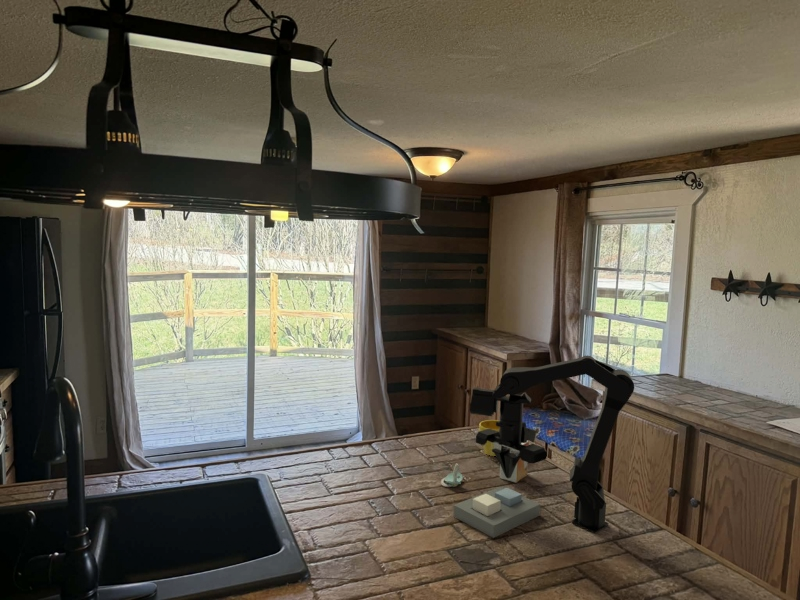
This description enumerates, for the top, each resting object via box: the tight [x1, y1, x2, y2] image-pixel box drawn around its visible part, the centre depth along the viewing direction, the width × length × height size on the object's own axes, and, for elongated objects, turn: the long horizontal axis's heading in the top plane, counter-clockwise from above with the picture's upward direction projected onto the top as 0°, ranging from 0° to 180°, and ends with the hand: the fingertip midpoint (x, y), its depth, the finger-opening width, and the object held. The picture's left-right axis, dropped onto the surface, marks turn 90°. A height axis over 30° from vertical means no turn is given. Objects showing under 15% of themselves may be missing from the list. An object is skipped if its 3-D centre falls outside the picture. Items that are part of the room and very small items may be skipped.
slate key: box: [495, 487, 523, 507], centre depth 142 cm, size 5×5×3 cm
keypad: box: [453, 486, 541, 539], centre depth 139 cm, size 13×18×3 cm
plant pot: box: [478, 419, 500, 457], centre depth 182 cm, size 10×10×10 cm
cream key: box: [473, 494, 501, 516], centre depth 136 cm, size 5×5×3 cm
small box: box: [498, 440, 530, 483], centre depth 164 cm, size 8×6×10 cm
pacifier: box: [440, 462, 463, 488], centre depth 158 cm, size 7×6×6 cm
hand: (508, 477), depth 141 cm, fingers closed
